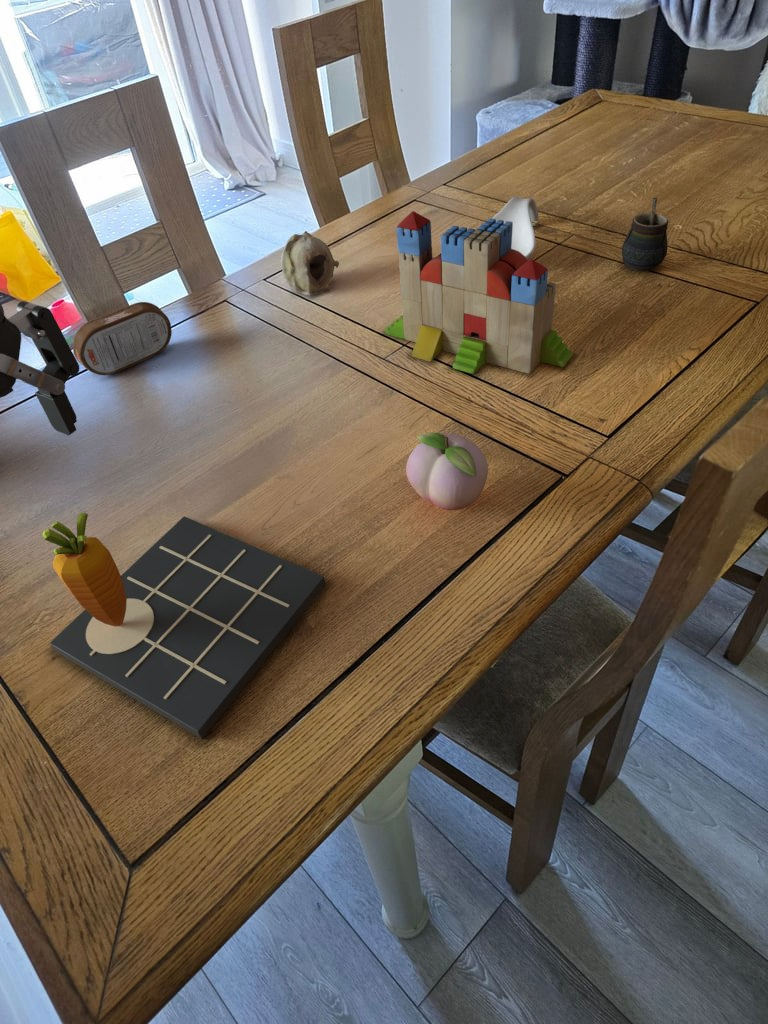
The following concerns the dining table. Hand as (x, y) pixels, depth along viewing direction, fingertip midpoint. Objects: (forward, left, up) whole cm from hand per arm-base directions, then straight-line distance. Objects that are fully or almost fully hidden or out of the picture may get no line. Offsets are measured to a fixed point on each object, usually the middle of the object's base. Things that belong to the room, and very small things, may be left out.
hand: (23, 461), depth 55 cm
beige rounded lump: (-25, +70, -24) cm, 78 cm away
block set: (+9, +64, -24) cm, 69 cm away
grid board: (+5, +5, -24) cm, 24 cm away
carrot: (0, 0, -22) cm, 22 cm away
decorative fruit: (+21, +32, -24) cm, 45 cm away
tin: (-37, +38, -24) cm, 59 cm away
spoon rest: (+1, +95, -24) cm, 98 cm away
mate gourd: (+24, +98, -24) cm, 104 cm away
